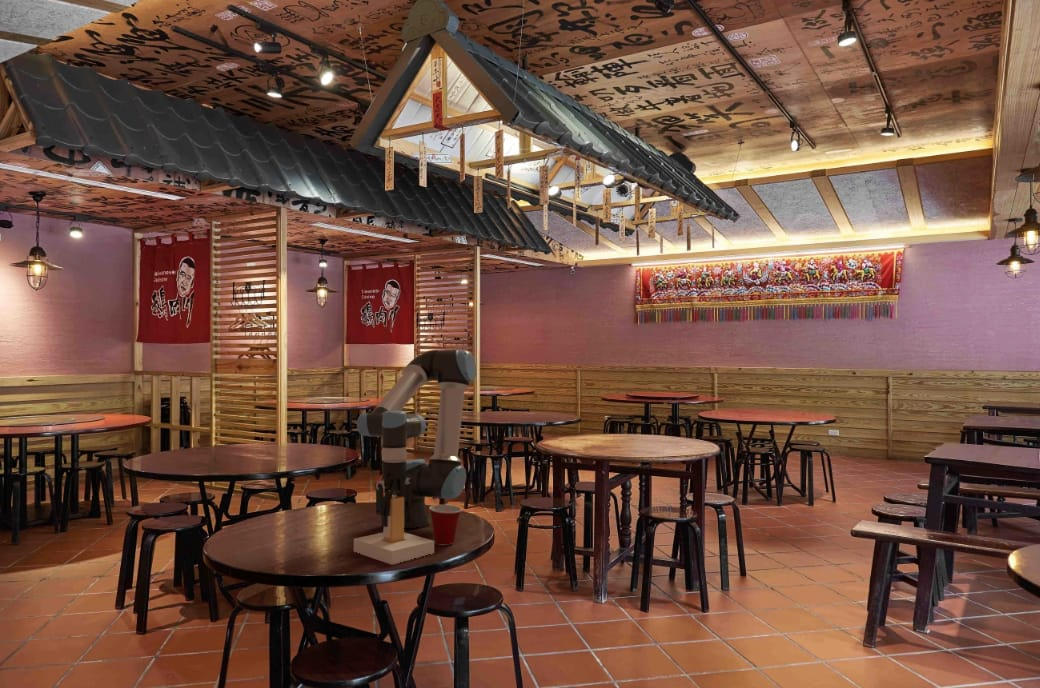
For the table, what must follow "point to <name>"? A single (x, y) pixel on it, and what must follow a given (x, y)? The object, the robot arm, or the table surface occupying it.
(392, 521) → the plug block
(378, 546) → the socket plate
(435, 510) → the plastic cup
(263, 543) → the table surface
